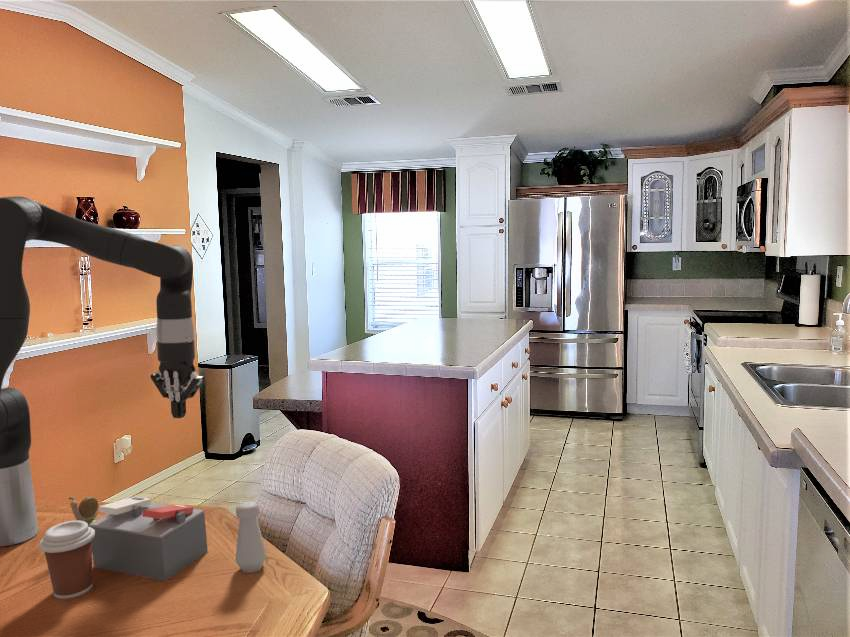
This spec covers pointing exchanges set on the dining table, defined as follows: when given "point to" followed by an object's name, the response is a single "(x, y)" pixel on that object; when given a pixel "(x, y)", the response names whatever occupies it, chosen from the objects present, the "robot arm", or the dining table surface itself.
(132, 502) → the white rocker
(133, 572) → the switch box
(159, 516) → the red rocker
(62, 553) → the coffee cup
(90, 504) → the snail figurine
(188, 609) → the dining table surface
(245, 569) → the salt shaker
